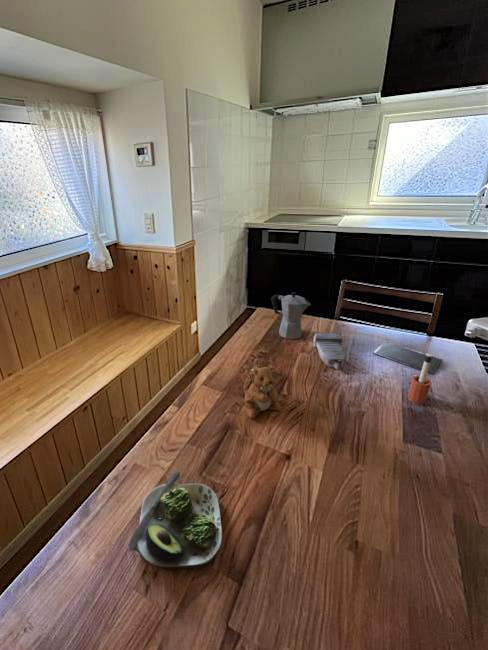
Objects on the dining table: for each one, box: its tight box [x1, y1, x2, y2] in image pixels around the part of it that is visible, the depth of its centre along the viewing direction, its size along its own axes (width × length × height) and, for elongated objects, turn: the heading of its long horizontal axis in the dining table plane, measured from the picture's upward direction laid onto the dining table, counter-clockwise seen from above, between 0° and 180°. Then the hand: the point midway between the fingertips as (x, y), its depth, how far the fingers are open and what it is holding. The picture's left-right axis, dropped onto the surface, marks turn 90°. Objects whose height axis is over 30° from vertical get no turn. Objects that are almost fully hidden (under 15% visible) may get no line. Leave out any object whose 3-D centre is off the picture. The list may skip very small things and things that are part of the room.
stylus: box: [418, 352, 434, 384], centre depth 93 cm, size 1×1×15 cm
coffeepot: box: [270, 291, 311, 340], centre depth 131 cm, size 15×9×18 cm, turn 53°
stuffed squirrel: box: [243, 363, 282, 419], centre depth 97 cm, size 10×14×13 cm
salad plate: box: [127, 470, 223, 570], centre depth 68 cm, size 19×18×5 cm
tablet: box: [372, 340, 443, 376], centre depth 115 cm, size 18×11×1 cm, turn 42°
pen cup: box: [407, 375, 433, 405], centre depth 95 cm, size 4×4×7 cm
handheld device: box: [312, 332, 347, 371], centre depth 118 cm, size 10×20×5 cm, turn 173°
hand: (484, 340), depth 87 cm, fingers open, 8 cm apart
